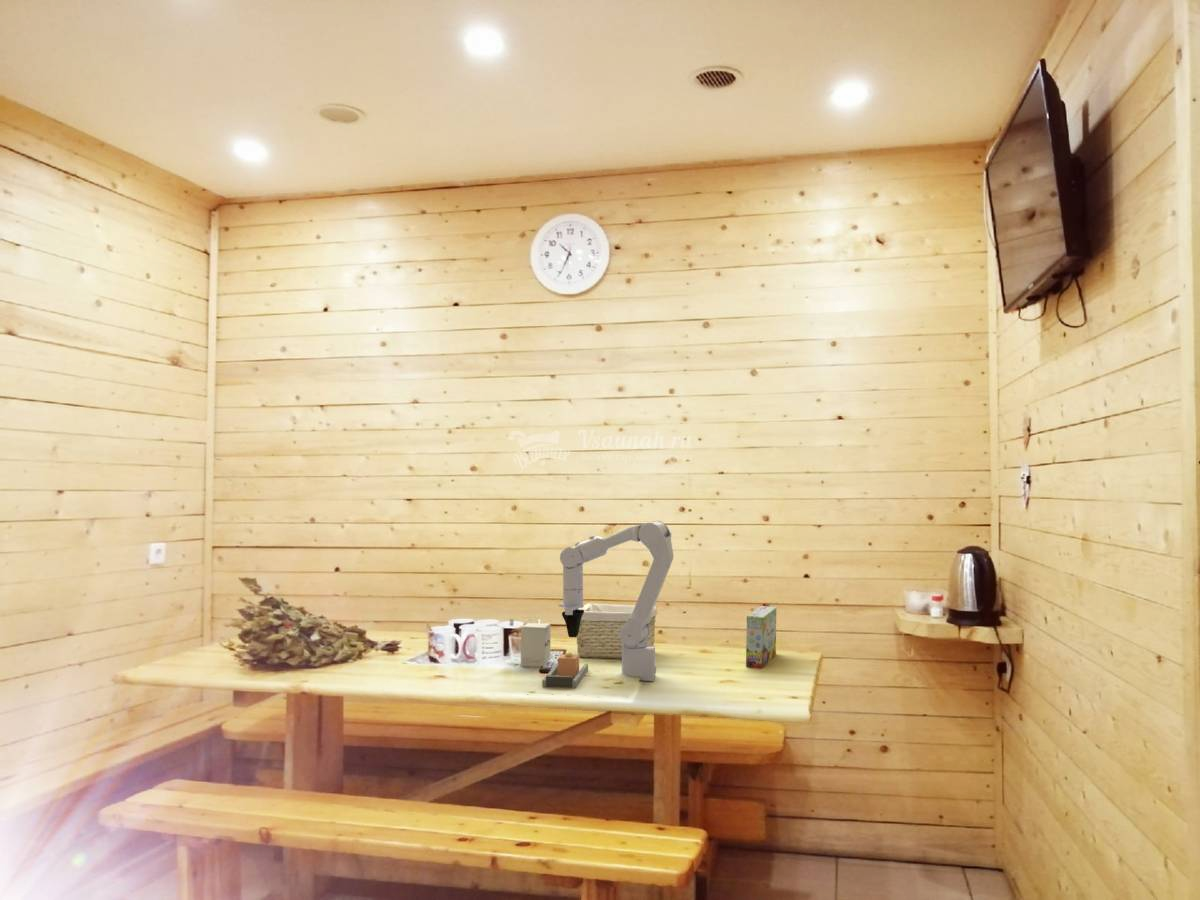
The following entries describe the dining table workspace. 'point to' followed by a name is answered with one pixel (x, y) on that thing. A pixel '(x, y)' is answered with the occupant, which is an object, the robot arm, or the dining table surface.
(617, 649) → the storage basket
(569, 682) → the grey tray
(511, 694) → the dining table surface
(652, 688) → the dining table surface
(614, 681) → the dining table surface
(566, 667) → the block
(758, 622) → the snack box
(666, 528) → the robot arm
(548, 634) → the supplement box
